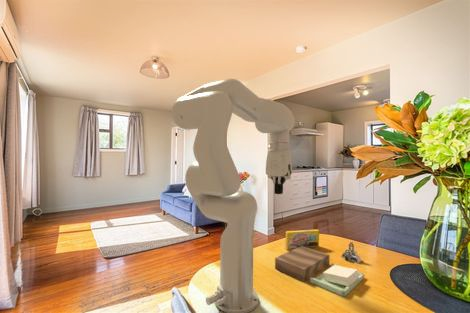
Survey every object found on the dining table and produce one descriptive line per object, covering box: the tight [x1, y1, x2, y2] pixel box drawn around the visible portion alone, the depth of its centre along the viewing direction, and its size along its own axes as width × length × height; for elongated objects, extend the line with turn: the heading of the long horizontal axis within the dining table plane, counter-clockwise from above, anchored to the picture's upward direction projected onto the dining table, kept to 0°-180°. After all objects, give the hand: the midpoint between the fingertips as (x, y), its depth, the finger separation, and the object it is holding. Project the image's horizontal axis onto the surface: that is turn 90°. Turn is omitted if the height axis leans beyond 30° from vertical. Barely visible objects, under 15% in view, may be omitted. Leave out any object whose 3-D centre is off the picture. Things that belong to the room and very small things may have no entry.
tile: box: [322, 264, 359, 286], centre depth 75 cm, size 8×8×2 cm
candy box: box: [284, 228, 320, 251], centre depth 104 cm, size 16×2×8 cm, turn 104°
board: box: [274, 246, 331, 283], centre depth 86 cm, size 18×12×4 cm, turn 132°
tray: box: [309, 263, 365, 298], centre depth 76 cm, size 16×11×2 cm
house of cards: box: [340, 241, 364, 264], centre depth 91 cm, size 9×9×8 cm
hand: (278, 193), depth 90 cm, fingers closed
